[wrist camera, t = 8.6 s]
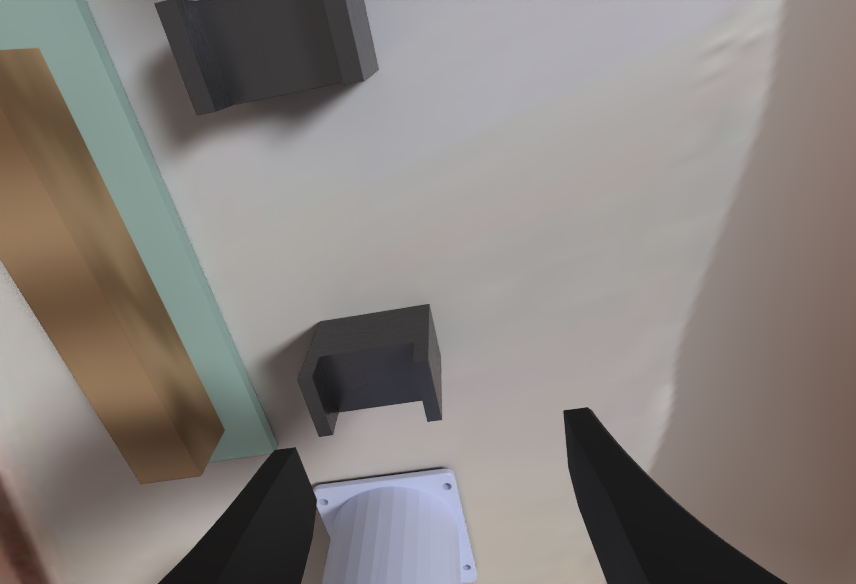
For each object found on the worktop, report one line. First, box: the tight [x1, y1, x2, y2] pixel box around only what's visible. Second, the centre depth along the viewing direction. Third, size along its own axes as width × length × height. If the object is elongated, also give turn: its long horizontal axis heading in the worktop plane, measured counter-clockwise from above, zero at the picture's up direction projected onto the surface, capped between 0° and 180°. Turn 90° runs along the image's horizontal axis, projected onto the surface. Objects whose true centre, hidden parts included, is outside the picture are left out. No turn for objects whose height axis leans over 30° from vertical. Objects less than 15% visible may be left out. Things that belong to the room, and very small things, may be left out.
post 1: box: [154, 0, 379, 115], centre depth 16 cm, size 3×5×4 cm, turn 101°
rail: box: [0, 48, 225, 484], centre depth 21 cm, size 18×3×3 cm, turn 11°
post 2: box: [297, 304, 442, 437], centre depth 22 cm, size 3×5×4 cm, turn 101°
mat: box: [0, 0, 278, 462], centre depth 22 cm, size 22×7×1 cm, turn 11°
